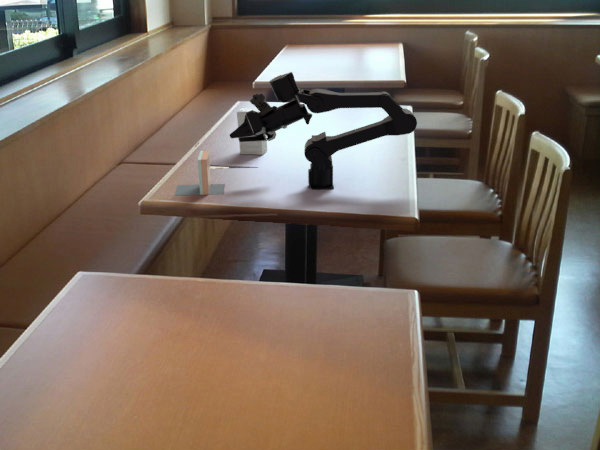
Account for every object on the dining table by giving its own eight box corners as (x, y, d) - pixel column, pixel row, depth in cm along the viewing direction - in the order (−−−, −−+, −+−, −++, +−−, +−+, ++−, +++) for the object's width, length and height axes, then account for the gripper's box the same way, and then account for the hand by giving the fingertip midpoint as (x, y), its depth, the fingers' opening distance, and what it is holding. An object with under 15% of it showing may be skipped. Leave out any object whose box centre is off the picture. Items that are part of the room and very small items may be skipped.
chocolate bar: (251, 175, 200) (193, 173, 203) (251, 178, 200) (194, 176, 203) (258, 167, 208) (202, 164, 211) (258, 170, 208) (202, 167, 211)
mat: (225, 185, 193) (225, 183, 192) (223, 196, 184) (223, 194, 184) (178, 187, 192) (177, 185, 192) (174, 197, 184) (174, 195, 183)
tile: (210, 184, 192) (208, 150, 188) (208, 194, 184) (206, 159, 180) (202, 184, 192) (200, 150, 188) (200, 194, 184) (197, 159, 180)
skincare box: (267, 151, 227) (266, 107, 222) (262, 155, 222) (260, 111, 216) (244, 149, 229) (242, 106, 224) (238, 154, 224) (236, 110, 218)
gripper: (280, 94, 194) (232, 117, 197) (266, 82, 176) (213, 107, 178) (295, 129, 194) (247, 151, 196) (282, 120, 175) (229, 145, 178)
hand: (234, 138), depth 187 cm, fingers open, 9 cm apart
